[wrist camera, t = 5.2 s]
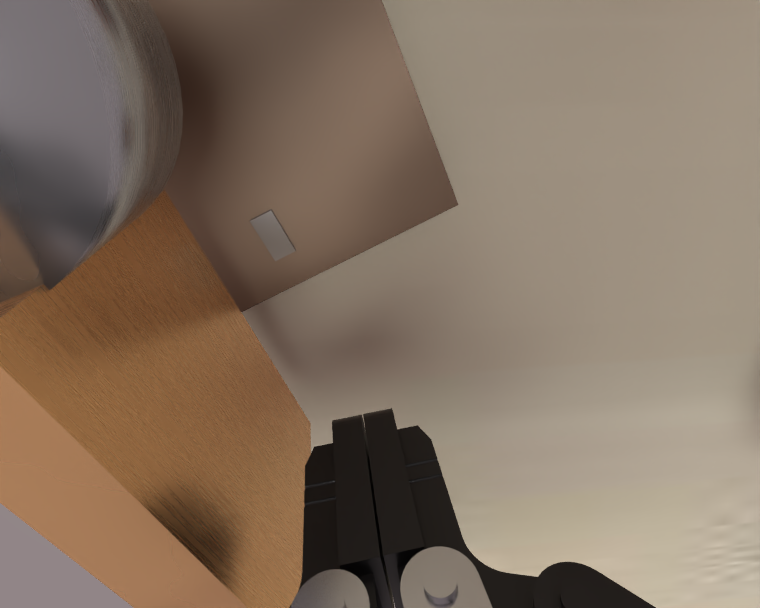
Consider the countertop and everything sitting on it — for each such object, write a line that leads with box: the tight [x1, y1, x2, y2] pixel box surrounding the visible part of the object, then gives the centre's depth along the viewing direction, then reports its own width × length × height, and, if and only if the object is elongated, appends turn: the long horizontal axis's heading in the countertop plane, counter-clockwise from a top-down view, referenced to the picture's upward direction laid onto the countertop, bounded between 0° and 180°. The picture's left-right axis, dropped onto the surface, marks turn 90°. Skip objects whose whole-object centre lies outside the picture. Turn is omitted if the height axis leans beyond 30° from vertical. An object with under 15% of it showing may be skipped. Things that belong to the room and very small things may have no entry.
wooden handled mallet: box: [0, 0, 311, 608], centre depth 9 cm, size 15×6×8 cm, turn 21°
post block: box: [148, 0, 458, 312], centre depth 11 cm, size 16×16×6 cm
